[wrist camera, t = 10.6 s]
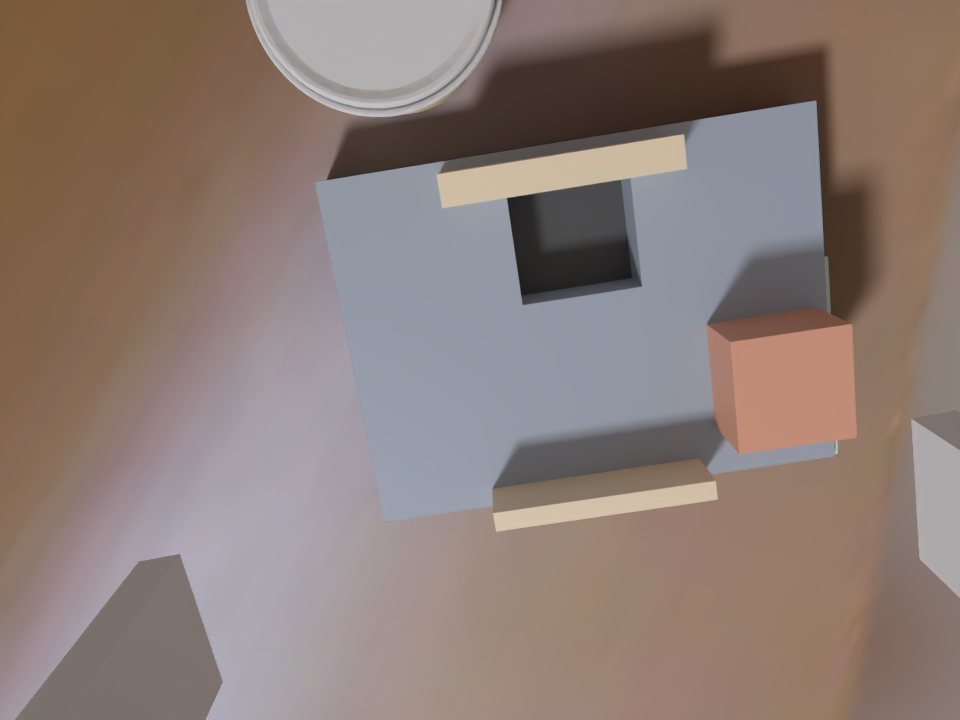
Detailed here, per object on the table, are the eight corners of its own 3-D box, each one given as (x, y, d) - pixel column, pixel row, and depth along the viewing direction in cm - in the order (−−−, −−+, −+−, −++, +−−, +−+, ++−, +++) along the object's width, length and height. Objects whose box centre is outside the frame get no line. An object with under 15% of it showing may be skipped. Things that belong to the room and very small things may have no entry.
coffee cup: (324, -92, 39) (258, -206, 27) (514, -46, 39) (531, -138, 27) (292, 108, 41) (219, 83, 29) (474, 149, 41) (473, 140, 29)
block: (706, 323, 41) (730, 342, 37) (816, 307, 40) (852, 323, 36) (715, 426, 42) (739, 454, 38) (821, 411, 42) (857, 437, 38)
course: (326, 180, 42) (301, 184, 36) (798, 103, 41) (851, 95, 35) (390, 498, 46) (377, 548, 40) (817, 435, 45) (867, 477, 39)
